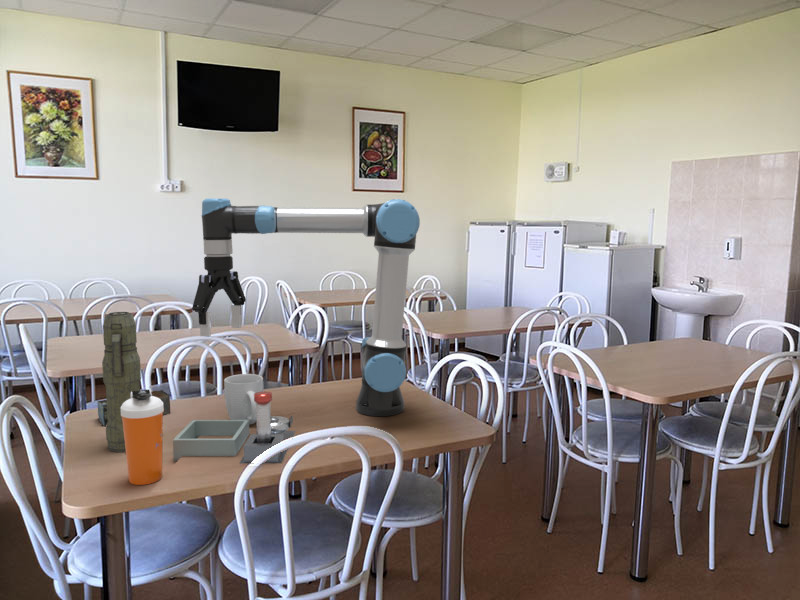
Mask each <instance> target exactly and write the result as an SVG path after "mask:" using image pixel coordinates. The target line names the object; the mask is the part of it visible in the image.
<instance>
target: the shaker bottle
mask: <svg viewBox="0 0 800 600" xmlns="http://www.w3.org/2000/svg"><path fill="white" fill-rule="evenodd" d="M151 392H152V390H151V389H140V391H132V392H131V394H130V396H131V398H130V399H128V400H126V401H125V402H124V403H123V404H122V406H121V408H120V409H121V417H122V421H123V431H124V440H125V449H126V452H125V458H126V459H125V460H126V466H127V475H128V476H127V477H128V482H129V483H130V484H131V485H134V486H135V485H136V486H144V485H150V484H154V483H156V482H159V480H161V479H162V478H163V432H164V431H163V430H164V429H163V424H164V423H163V420H164V417H163V416H164V415H163V411H164V407H163V402H162V401H161V399H159V398H157V397H154V396H152V395H151Z"/></svg>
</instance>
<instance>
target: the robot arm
mask: <svg viewBox="0 0 800 600" xmlns="http://www.w3.org/2000/svg"><path fill="white" fill-rule="evenodd" d="M201 222H202V225H201V226H202V233H203V234H202V238H203V254H204V255H206V256H204V257H203V263H204V265H203V268H204V270H206V271H207V274H199V276H198V286H197V290H196V293H195V296H194V300H193V303H192V307H191V309H192V311H194V312H195V313H198V324H199V332H200V334H199V335H200V337H206V338H207V337H211V318H210V317H211V316H210V315H211V314H210V312H209V311H208V310H209V308H210V306H211V304H212V302H213V299H214V298H215V295H216V293H217V292H218V291H221V290H223V291H224V292H225V294H226V295H227V296H228V298H229V300H230V301H231V303H232V304H231V305H230V313H231V314H230V318H231V328H233V329H241V328H242V306H244V305H245V302H246V300H247V299H246V297H245V293H244V291H243V290H244V289H243V288H242V284H241V282H240V280H239V273H238V271H234V270H233V268H234V262H233V261H234V260H233V259H234V258H233V256H232V254H233V238H232V234H236V235H237V234H251V235H253V234H254V235H255V234H258V235H260V234H261V235H266V234H278V233H279V234H281V233H282V234H283V233H285V234H287V233H289V234H294V233H295V234H297V233H298V234H362V235H364V236H365V237H370V238H371V237H373V238H374V240H373V241H374V242H373V247H374V248H375V250H376V251H377V252H378V255H377V256H378V259H377V271H376V281H375V294H374V308H373V317H372V330H371V331H372V332H371V336H367V337H364V338H363V339H362V340H361V346H360V348H361V386H360V389H359V392H358V396H357V399H356V403H355V404H356V407H355V409H356V411H357V412H358V413H359V414H362V415H366V416H370V417H386V416H387V417H388V416H394V415H398V414H401V413H402V412H404V411H405V400H404V397H403V394H402V391H401V386H402V385H403V384H404V382H405V380H406V375H407V366H406V353H407V343H406V342H405V341H404V340H403V328H404V327H403V325H404V317H405V316H404V315H405V304H406V303H405V302H406V293H407V283H408V282H407V281H408V280H407V279H408V270H409V261H410V260H409V258H410V256H411V254H412V253H413V252H414V251H415V250H416V243H417V240H416V239H417V233H418V231H419V229H420V223H421V219H420V216H419V212H418V210H417V209H416V208H415V206H414V205H413V204H412V203H410V202H409V201H407V200H405V199H400V198H397V199H394V198H393V199H390V200H387V201H385V202H381V203H377V204H373V203H372V204H365V205H364V206H363V207H303V206H302V207H300V206H299V207H297V206H296V207H295V206H293V207H292V206H291V207H287V206H286V207H285V206H280V207H279V206H276V207H275V206H272V205H270V206H269V205H241V206H240V205H239V206H238V205H232V204H231V200H230V199H228V198H216V197H215V198H213V197H212V198H211V197H210V198H204V199H203V200H202V202H201ZM231 270H232V271H231Z"/></svg>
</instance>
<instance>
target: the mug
mask: <svg viewBox="0 0 800 600" xmlns="http://www.w3.org/2000/svg"><path fill="white" fill-rule="evenodd" d="M223 381H224V383H223V384H224V385H223V386H224V387H223V389H224V399H225V401H224V402H225V407H226V411H227V415H228V417H229V420H249V426H251V425H254V424H255V423H256V402H255V401H254V394H255V393H257V392H262V391H264V377H263V376H261V375H259V374H254V373H240V374H239V373H238V374H235V375H230V376H227V377H225V378H224V379H223Z"/></svg>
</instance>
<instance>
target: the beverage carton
mask: <svg viewBox="0 0 800 600" xmlns="http://www.w3.org/2000/svg"><path fill="white" fill-rule="evenodd" d="M151 395H152V396H154V397H157V398H159V399H161V401H162V402H163V407H164V411H163V416H165V415H170V414H171V401H170V394H169V393H167V392H165V391H164V390H162V389H160V390H151ZM96 403H97V404H96V405H97V416H98V421H99V422H100V421H101V422H102V423H101V424H102V425H103V426H104V427H106V425H107V423H108V417H107V400H106V399H103V400H98V401H97V402H96Z"/></svg>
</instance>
